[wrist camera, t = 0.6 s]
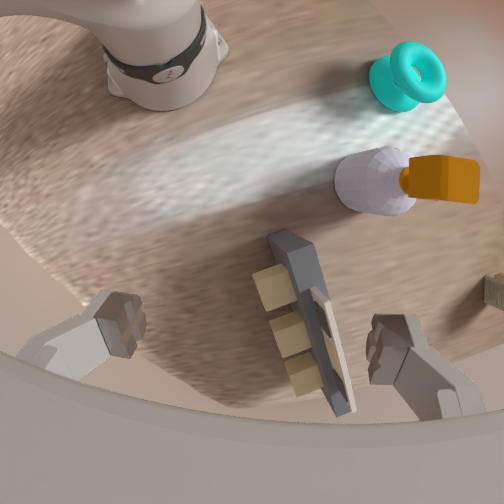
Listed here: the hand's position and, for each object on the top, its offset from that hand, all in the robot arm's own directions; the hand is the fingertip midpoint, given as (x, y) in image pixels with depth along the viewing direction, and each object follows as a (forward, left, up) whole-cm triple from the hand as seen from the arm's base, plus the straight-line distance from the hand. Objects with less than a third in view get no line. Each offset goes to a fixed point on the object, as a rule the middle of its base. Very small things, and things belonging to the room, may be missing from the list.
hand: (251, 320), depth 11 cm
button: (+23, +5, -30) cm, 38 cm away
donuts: (-13, +34, -37) cm, 52 cm away
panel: (+16, +7, -36) cm, 40 cm away
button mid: (+16, +5, -30) cm, 35 cm away
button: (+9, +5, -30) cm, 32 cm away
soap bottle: (+1, +22, -37) cm, 43 cm away
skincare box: (+30, +48, -37) cm, 67 cm away
